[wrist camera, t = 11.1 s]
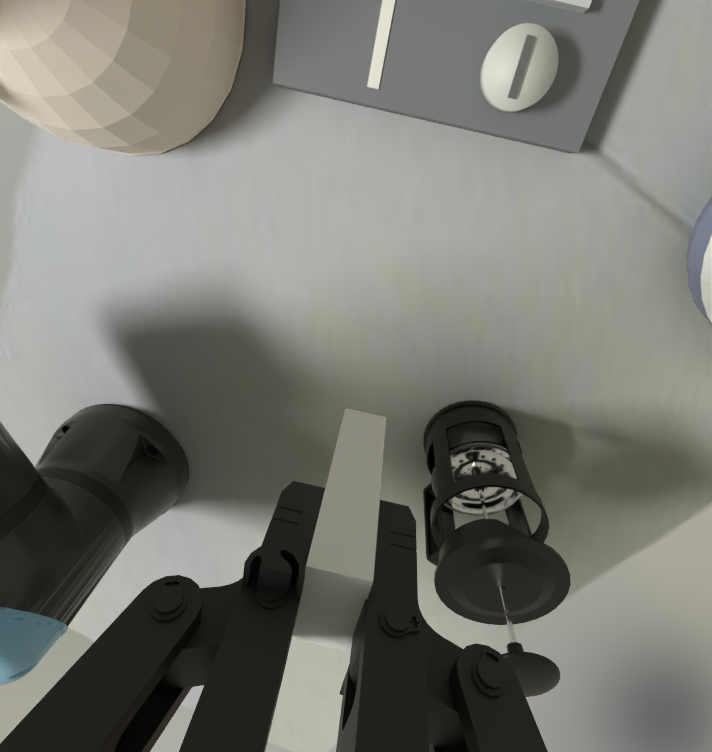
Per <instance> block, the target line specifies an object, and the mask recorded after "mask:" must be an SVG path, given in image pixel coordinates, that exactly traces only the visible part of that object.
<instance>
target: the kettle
mask: <svg viewBox="0 0 712 752" xmlns="http://www.w3.org/2000/svg"><path fill="white" fill-rule="evenodd" d="M245 7H246V0H0V101H1V102H2V103H3V104H5V105H6V106H7V107H9V108H11V109H12V110H13V111H15V112H16V113H18V114H19V115H21V116H22V117H24V118H25V119H27V120H28V121H30V122H31V123H33V124H35V125H37V126H39V127H41V128H43V129H44V130H46V131H48V132H50V133H52V134H54V135H56V136H58V137H60V138H62V139H64V140H66V141H70V142H75V143H79V144H83V145H88V146H92V147H96V148H101V149H105V150H110V151H114V152H118V153H122V154H127V155H145V154H159V153H163V152H166V151H168V150H170V149H173V148H175V147H177V146H180V145H182V144H184V143H187V142H189V141H190V140H191V139H192V138H193V137H195V136H196V135H197V134H198V133H199V132H200V131H201V130H202V129H203V128H205V127H206V126H207V125H208V124H209V123H210V122H211V121H212V120H213V119H214V117H215V116H216V114H217V112H218V111H219V109H220V107H221V106H222V104H223V102H224V101H225V99H226V97H227V95H228V94H229V92H230V90H231V89H232V85H233V82H234V78H235V75H236V71H237V68H238V64H239V61H240V57H241V54H242V51H243V40H244V23H245Z"/></svg>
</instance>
